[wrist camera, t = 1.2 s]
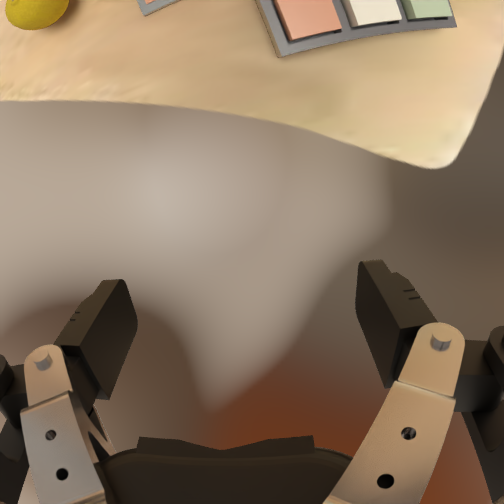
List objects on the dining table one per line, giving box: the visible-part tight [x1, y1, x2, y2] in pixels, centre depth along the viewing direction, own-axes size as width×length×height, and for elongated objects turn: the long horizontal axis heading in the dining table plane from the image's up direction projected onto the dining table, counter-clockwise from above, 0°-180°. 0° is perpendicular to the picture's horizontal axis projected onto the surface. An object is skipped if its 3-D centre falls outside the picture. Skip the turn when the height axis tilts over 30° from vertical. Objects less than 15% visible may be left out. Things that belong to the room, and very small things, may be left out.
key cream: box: [340, 0, 402, 28], centre depth 19 cm, size 4×4×2 cm
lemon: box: [5, 0, 69, 30], centre depth 17 cm, size 6×6×8 cm
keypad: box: [255, 0, 457, 58], centre depth 20 cm, size 6×17×4 cm, turn 110°
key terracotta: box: [272, 0, 342, 42], centre depth 20 cm, size 4×4×2 cm
